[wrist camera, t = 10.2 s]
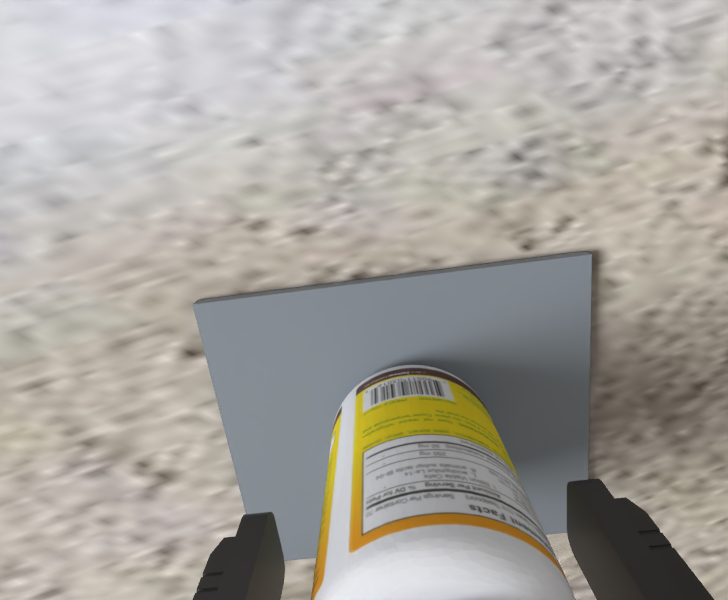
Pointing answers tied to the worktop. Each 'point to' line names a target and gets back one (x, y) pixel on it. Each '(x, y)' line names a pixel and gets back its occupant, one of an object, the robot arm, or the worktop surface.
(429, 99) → the worktop surface
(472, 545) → the supplement bottle
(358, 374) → the mat
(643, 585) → the robot arm
